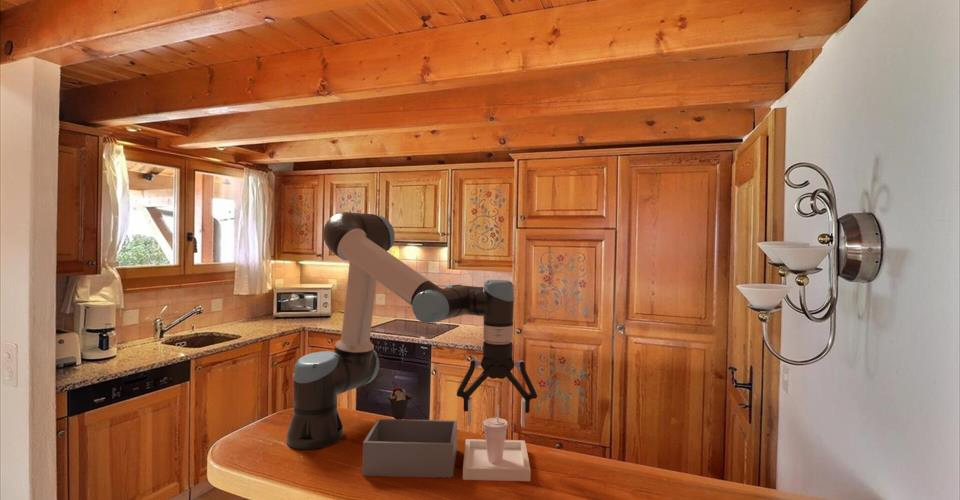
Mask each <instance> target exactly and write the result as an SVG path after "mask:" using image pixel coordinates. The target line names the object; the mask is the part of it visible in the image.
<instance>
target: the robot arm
mask: <svg viewBox="0 0 960 500" xmlns="http://www.w3.org/2000/svg"><path fill="white" fill-rule="evenodd" d="M322 231H323V234H322V236H323V241H324V244H325V245H326V248H328V250H329V251H330V252H331V253H333V254H334V255H335V256H336V257H338V258H339V259H341V260H342V261H346V262H347V261H348V263H349V264H348V275H347V283H346V292H345V300H344V301H345V302H344V311H343V320H342V328H341V336H340V339H339V340H338V341H336V342H335V345H334V351H332V350H331V351H330V350H323V351H321V350H320V351H317V352H316V351H315V352H311V353H307V354H305V355H303V356H301V357H300V358H299V359H298V360H297V361H296V362H295V364H294V370H293V371H294V373H293V376H292V377H293V414H292V417H291V419H290V423H289V425H288V428H287V431H286V444H287V445H288V446H289V448H290V447H291V448H294V449H297V450H315V449H323V448H326V447H329V446H331V445H334V444H336V443H339V442H340V441H341V440H342V439H343V437H344V425H343V422H342V419H341V416H340V413H339V410H338V396H339V395H341V394H343V393H347V392H348V391H352V390H354V389H357V388H358V389H359V388H362V387H364V386H365V385H367V384H369V383H371V382H372V381H373V380H375V378H376V377H377V375H378V373H379V370H380V358H379V356H378V353H377V351H376V350H375V349H374V347H375V345H374V344H373V343H372V342H371V340H370V339H371V332H372V331H371V330H372V324H373V323H372V322H373V314H374V307H375V300H376V299H375V297H376V290H377V289H376V288H377V282H378V283H380V284H381V285H382V286H385V287H386V288H387V289H389V291H391V292H392V293H394V294H395V295H397V296H398V297H399V298H401V299H402V300H403V301H404V302H406V303H408V304H409V305H411V308H412V312H413V314H414V316H415V318H416V319H417V320H418V321H419V322H422V323H424V324H430V323H431V324H432V323H433V324H434V323H438V322H439V323H440V322H441V321H445V320H449V319H453V318H458V317H461V316H465V315H467V316H476V317H477V316H478V317H483V327H482V328H483V334H482V335H483V338H482V339H483V340H484V341H483V342H482V358H481V360H479V359H475V358H472V357H471V359H470V363H469V367H468V369H467V372H466V373H465V375H464V376H463V379H462V381H461V382H460V385H459V386H458V388H457V390H456V397H458V398H459V397H461V398H462V399H463V412H467V427H471V425H472V395H473V394H474V393H475V392H476V390H477V389H478V388H479V387H480V386H481V384H483V383H484V381H485V380H487V379H488V378H490V379H493V380H494V379H500V380H504V379H505V378H507V379H508V381H509V382H511V384H512V385H513V386H514V388H515V389H516V390H517V392H519V394H520V395H521V396H522V397H521V401H520V402H521V404H520V408H521V409H520V413H521V414H520V426H521V428H526V427H525V426H526V414H529V413H530V411H531V410H530V408H531V407H530V403H531V400H533V399H534V400H535V399H537V398H538V394H537V392H536V390H535V387H534V386H533V382H532V381H531V379H530V377H529V374H528V373H527V371H526V363H525V361H524V359H519V360H515V361H514V359H513V350H514V349H513V347H514V346H513V345H514V344H513V342H512V341H513V339H514V309H515V308H514V306H515V295H514V292H515V291H514V290H515V289H514V284H513V281H510V280H508V279H507V280H505V279H487V280H485V281H484V283H483V285H484V286H473V285H463V284H459V283H458V284H448V285H447V286H446V287H445V288H441V287H440V286H438V285H436V284H435V283H434V282H432V281H431V280H429V279H428V278H426V277H425V276H424V275H422V274H421V273H419V271H418V272H417V271H416V270H415V269H413V268H412V267H410V266H409V265H408V264H406V263H405V262H403V261H401V260H400V259H399V258H397V257H396V256H394V255H393V254H391V253H390V252H388V251H390V249H391V248H393V245H394V243H395V237H396V235H395V231H394V227H393V225H392V224H391V222H390V221H389V220H388V219H387V218H386V217H384V216H382V215H378V214H374V213H364V212H363V213H360V212H359V213H358V212H351V211H350V212H349V211H343V212H338V213H336V214H334V215H332V216H331V217H330V218H328V220H327V221H326V223H325V224H324V228H323V230H322ZM479 366H480V367H481V368H482V370H483V371H482V372H481V373H480V375H479V376H478V377H476V379H475V380H474V382H473V383H472V384H471V385H470V386H469V387H468V388H467V389H466V387H467V386H468V383H469V381H470V379H471V378H472V376H473V374H474V372H475V370H477V369H478V367H479ZM514 367H515V368H516V369H517V370H518V371H520V373H521V375H522V378H523V380H524V382H525V384H526V386H527V388H528V391H529V392H527V390H526V389H525V388H524V386H523V385H522V384H521V383H520V381H519V380H518V379H517V378H516V376H515V375H514V373H513V372H512V370H513V369H514ZM465 389H466V390H465Z"/></svg>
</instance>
